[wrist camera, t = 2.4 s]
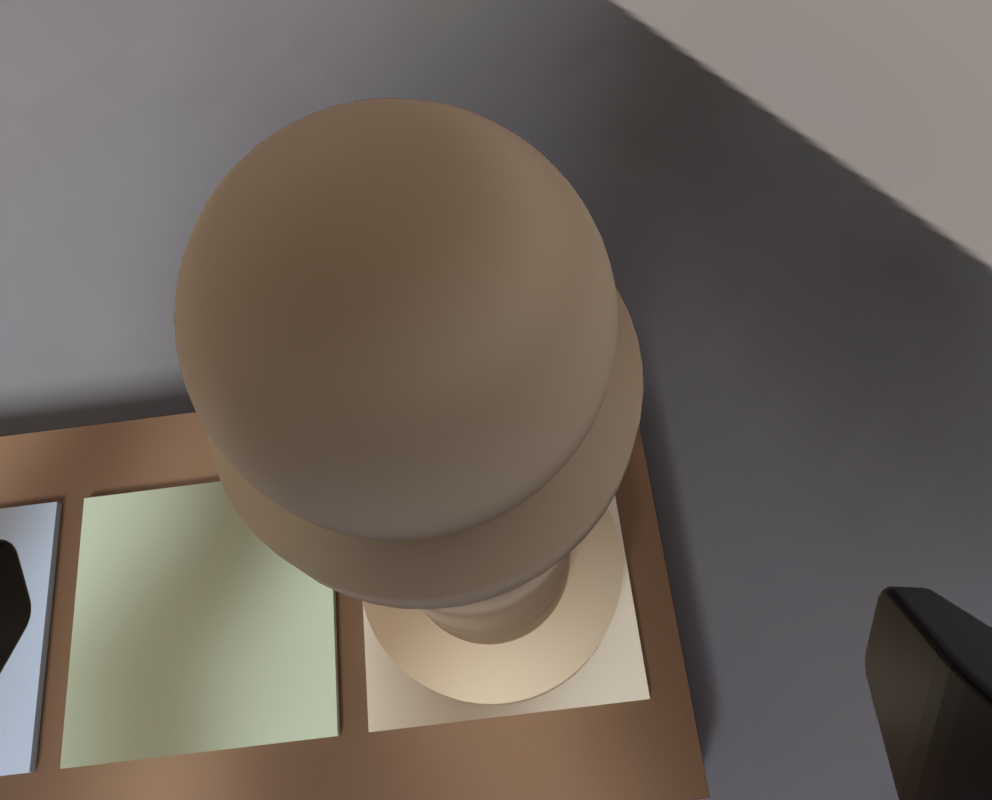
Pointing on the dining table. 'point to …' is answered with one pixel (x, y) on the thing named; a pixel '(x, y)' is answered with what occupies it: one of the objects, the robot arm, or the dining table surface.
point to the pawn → (420, 385)
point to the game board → (286, 655)
